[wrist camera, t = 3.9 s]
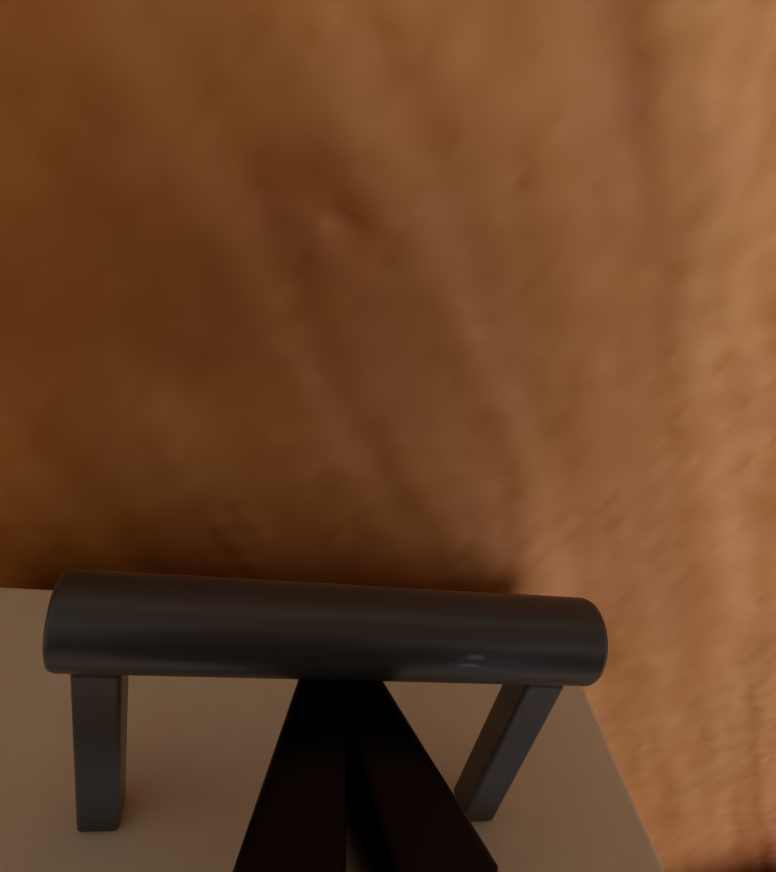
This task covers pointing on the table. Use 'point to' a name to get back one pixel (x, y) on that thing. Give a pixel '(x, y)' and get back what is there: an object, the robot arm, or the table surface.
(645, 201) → the table surface
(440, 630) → the drawer
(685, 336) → the table surface
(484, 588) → the table surface
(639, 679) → the table surface
